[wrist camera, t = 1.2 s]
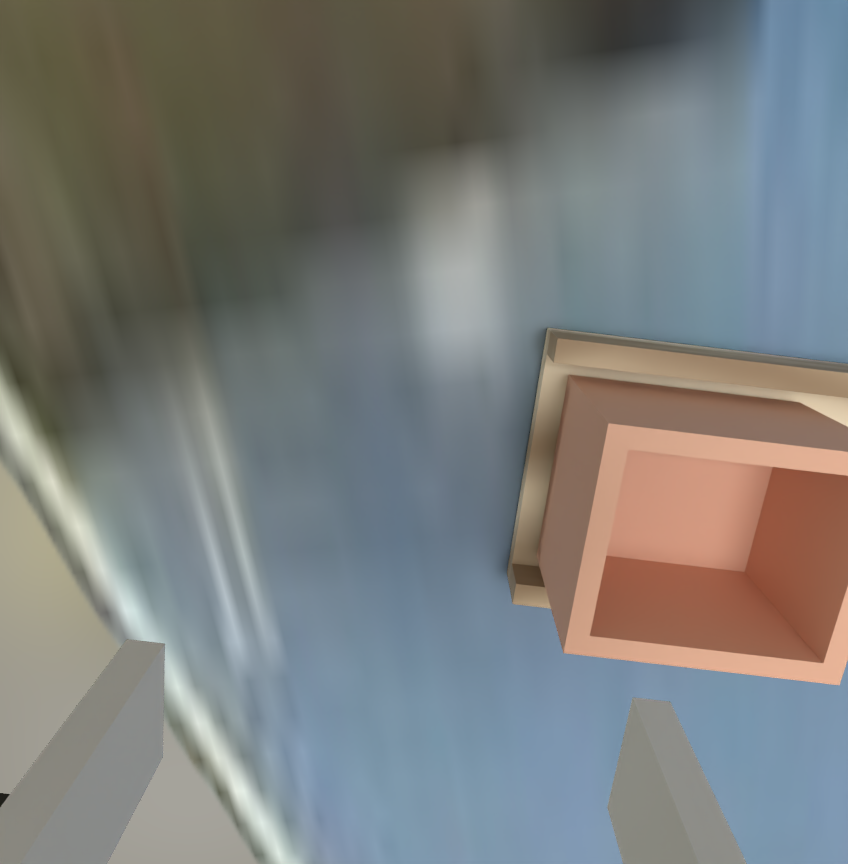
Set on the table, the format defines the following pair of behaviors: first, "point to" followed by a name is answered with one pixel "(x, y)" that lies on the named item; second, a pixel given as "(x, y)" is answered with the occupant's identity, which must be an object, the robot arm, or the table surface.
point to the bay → (658, 365)
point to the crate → (698, 531)
